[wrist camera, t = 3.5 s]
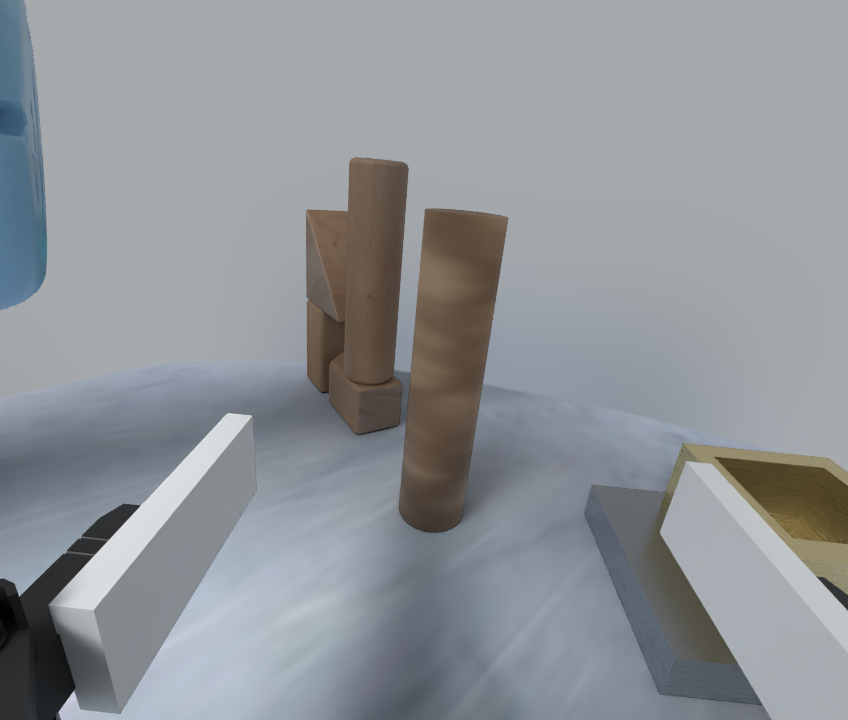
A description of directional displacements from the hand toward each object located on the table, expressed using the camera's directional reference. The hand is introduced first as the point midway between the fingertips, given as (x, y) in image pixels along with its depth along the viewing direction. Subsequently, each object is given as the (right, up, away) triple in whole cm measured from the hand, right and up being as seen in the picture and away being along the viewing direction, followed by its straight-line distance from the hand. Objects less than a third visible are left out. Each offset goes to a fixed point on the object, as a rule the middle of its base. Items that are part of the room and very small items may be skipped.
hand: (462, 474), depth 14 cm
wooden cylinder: (-1, -5, +12) cm, 13 cm away
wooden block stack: (-7, 0, +23) cm, 24 cm away
